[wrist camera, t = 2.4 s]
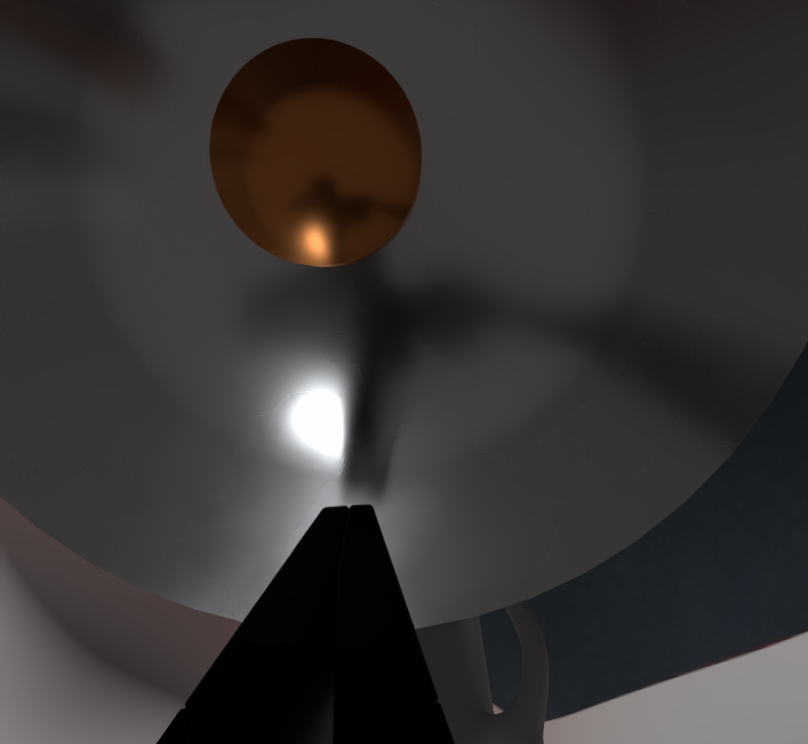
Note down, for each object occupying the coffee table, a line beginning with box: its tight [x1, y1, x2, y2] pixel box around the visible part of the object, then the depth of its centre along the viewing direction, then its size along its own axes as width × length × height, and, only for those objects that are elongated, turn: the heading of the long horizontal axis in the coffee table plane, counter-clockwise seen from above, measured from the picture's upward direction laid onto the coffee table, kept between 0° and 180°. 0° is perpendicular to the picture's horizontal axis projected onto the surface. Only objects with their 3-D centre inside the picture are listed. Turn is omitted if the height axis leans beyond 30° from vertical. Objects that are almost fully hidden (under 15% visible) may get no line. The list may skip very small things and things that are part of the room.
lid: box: [0, 0, 808, 629], centre depth 8 cm, size 17×17×2 cm
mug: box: [415, 600, 549, 744], centre depth 23 cm, size 10×7×12 cm, turn 126°
